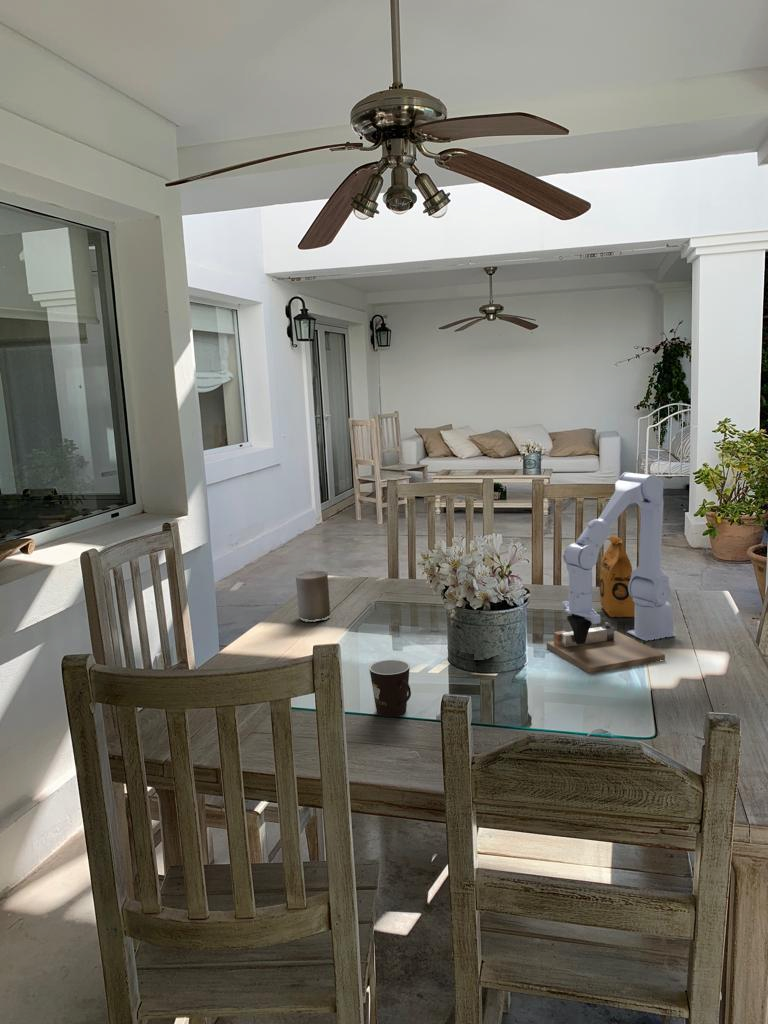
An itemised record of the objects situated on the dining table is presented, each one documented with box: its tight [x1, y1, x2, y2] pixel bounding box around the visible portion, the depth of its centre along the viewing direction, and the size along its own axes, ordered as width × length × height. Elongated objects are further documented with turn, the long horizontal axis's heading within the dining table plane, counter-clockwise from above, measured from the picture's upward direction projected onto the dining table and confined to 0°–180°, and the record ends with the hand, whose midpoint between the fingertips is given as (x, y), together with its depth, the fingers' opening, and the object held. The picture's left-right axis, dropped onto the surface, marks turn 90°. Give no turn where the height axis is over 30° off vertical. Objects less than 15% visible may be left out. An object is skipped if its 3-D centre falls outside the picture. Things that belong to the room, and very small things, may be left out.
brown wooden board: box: [546, 630, 666, 675], centre depth 197 cm, size 21×20×4 cm
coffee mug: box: [368, 659, 412, 719], centre depth 167 cm, size 12×9×10 cm
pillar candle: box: [295, 570, 331, 620], centre depth 237 cm, size 10×10×15 cm
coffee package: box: [598, 534, 635, 618], centre depth 229 cm, size 10×12×22 cm
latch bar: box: [561, 621, 615, 647], centre depth 201 cm, size 15×3×4 cm, turn 108°
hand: (580, 643), depth 198 cm, fingers closed
